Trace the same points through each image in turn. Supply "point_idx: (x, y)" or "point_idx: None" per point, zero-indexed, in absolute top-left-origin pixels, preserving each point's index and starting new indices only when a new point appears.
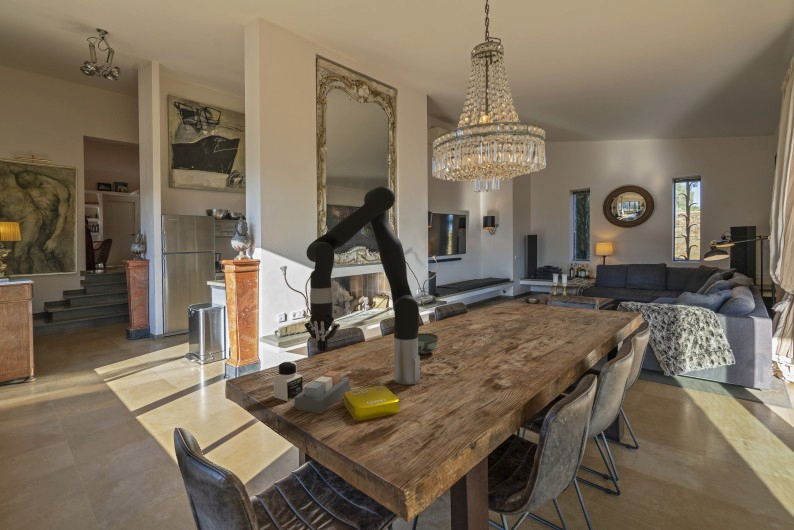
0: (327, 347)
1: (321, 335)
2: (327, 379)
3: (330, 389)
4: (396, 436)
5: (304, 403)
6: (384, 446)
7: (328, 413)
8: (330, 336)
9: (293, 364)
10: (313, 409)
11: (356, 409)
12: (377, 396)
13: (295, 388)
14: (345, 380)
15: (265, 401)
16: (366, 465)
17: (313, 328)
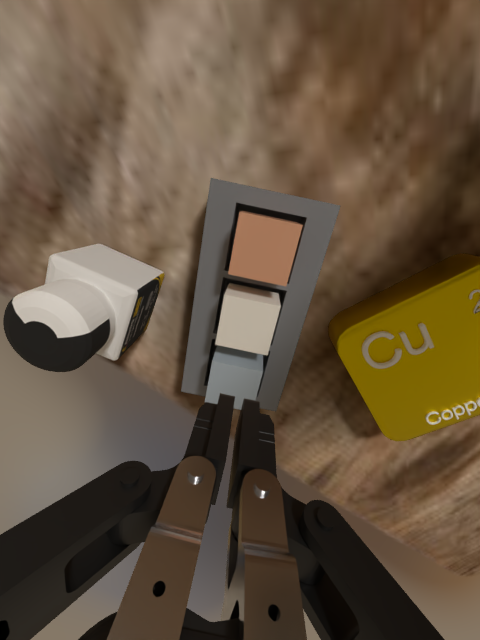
0: (272, 428)
1: (197, 508)
2: (265, 328)
3: (280, 327)
4: (476, 473)
5: None
6: (443, 502)
7: (293, 387)
8: (337, 597)
9: (79, 344)
10: None
11: (389, 438)
12: (466, 370)
13: (142, 314)
14: (323, 225)
15: None
16: (406, 542)
17: (34, 591)
